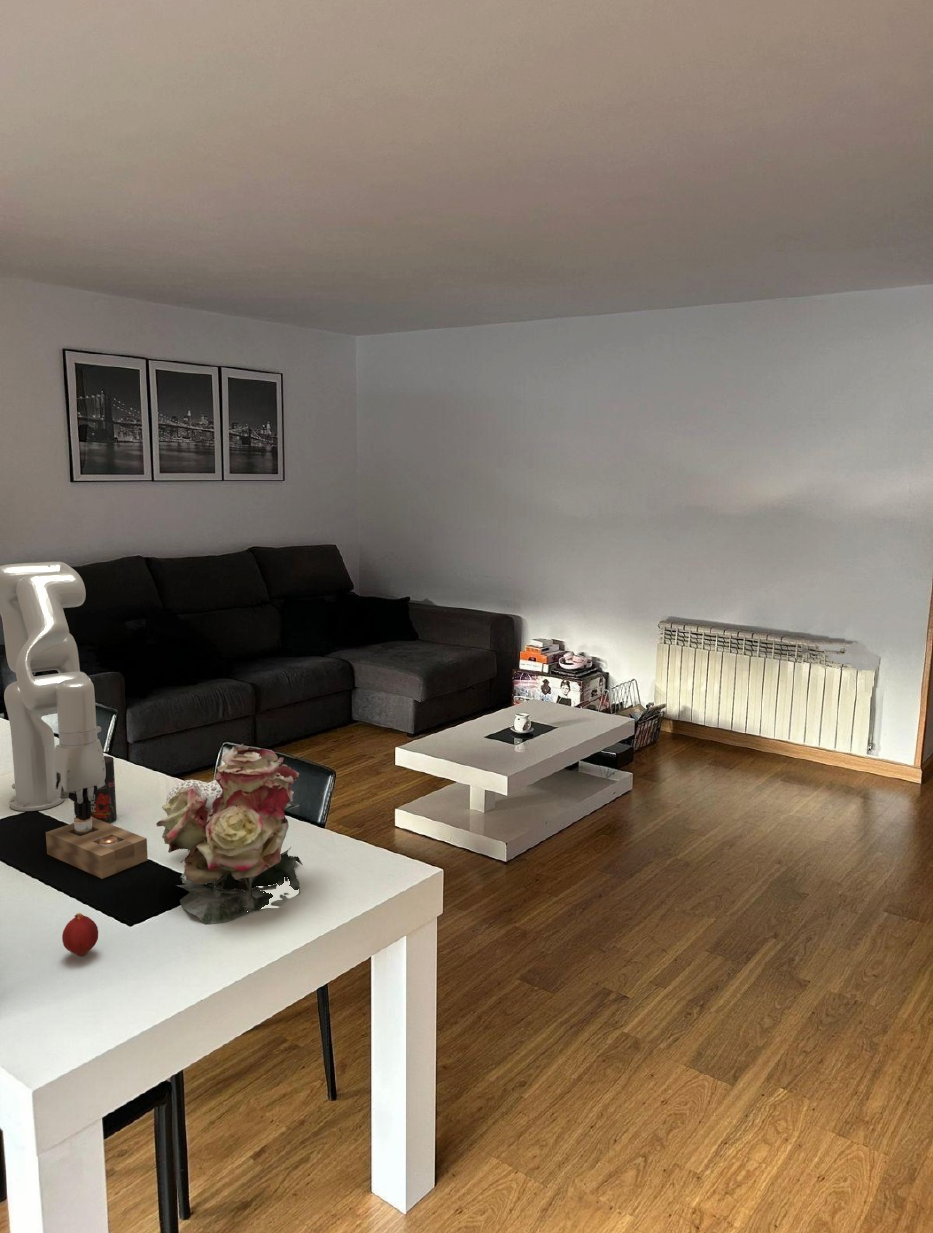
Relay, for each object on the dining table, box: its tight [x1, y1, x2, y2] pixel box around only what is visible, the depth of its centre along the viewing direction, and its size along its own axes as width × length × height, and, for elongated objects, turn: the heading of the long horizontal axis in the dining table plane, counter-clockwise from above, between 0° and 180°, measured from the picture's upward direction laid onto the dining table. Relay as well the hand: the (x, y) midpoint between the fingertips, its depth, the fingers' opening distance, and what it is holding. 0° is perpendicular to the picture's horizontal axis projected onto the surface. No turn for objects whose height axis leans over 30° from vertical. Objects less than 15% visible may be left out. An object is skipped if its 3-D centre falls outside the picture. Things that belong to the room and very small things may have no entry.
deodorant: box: [91, 755, 118, 824], centre depth 218 cm, size 6×6×15 cm
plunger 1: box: [73, 816, 93, 836], centre depth 201 cm, size 4×4×5 cm
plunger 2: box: [99, 836, 118, 847], centre depth 196 cm, size 4×4×5 cm
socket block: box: [45, 817, 149, 880], centre depth 199 cm, size 20×11×5 cm, turn 55°
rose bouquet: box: [155, 743, 304, 925], centre depth 182 cm, size 26×29×30 cm
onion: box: [61, 912, 99, 957], centre depth 160 cm, size 6×6×8 cm
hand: (83, 817), depth 200 cm, fingers closed
